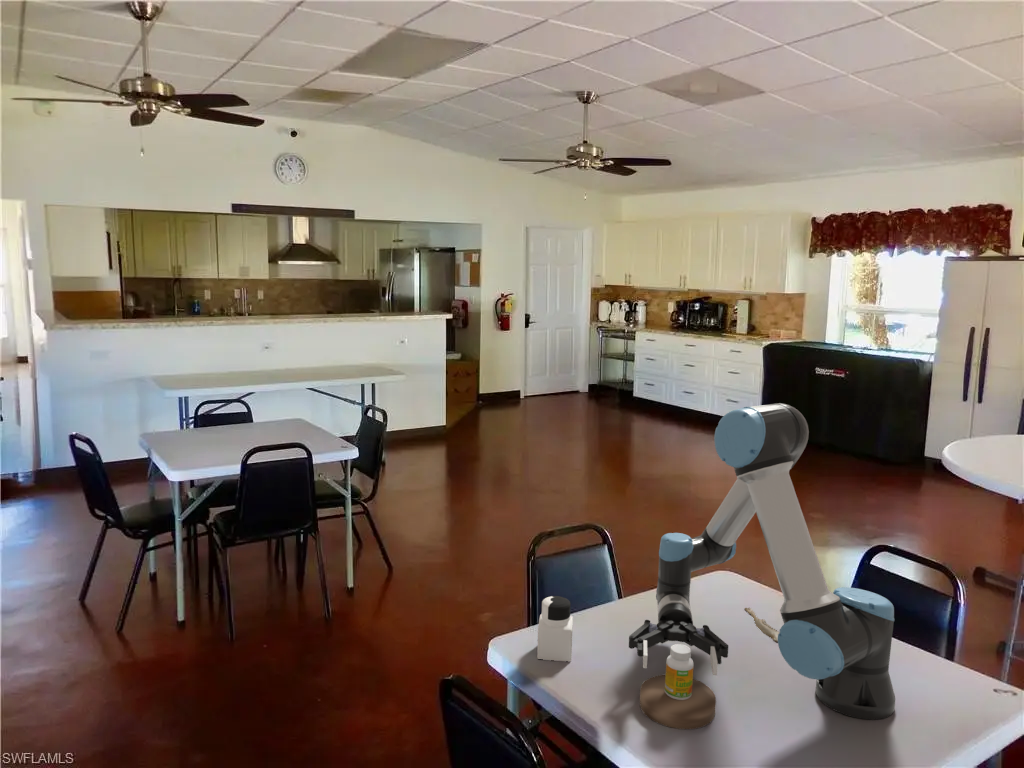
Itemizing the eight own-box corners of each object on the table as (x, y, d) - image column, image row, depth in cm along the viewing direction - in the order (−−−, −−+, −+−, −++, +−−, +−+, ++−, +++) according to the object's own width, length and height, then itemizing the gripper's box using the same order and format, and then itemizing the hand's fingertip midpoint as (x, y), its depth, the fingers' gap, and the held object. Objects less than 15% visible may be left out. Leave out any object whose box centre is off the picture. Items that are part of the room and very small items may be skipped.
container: (572, 646, 180) (573, 593, 179) (571, 662, 173) (572, 608, 171) (539, 643, 181) (540, 591, 179) (537, 660, 174) (538, 606, 172)
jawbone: (791, 653, 181) (791, 645, 181) (723, 621, 198) (723, 614, 197) (814, 640, 186) (814, 632, 185) (746, 610, 203) (746, 603, 202)
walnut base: (730, 713, 154) (731, 699, 154) (679, 738, 145) (680, 723, 145) (674, 680, 166) (675, 667, 166) (624, 701, 157) (624, 688, 157)
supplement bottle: (674, 703, 152) (677, 657, 150) (659, 689, 157) (661, 644, 155) (697, 697, 154) (700, 652, 153) (681, 684, 159) (683, 640, 157)
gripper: (731, 638, 171) (743, 689, 150) (618, 628, 175) (615, 676, 154) (733, 606, 170) (746, 653, 149) (619, 597, 174) (617, 641, 153)
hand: (680, 665), depth 152 cm, fingers open, 13 cm apart
